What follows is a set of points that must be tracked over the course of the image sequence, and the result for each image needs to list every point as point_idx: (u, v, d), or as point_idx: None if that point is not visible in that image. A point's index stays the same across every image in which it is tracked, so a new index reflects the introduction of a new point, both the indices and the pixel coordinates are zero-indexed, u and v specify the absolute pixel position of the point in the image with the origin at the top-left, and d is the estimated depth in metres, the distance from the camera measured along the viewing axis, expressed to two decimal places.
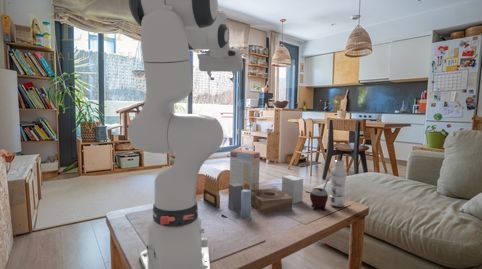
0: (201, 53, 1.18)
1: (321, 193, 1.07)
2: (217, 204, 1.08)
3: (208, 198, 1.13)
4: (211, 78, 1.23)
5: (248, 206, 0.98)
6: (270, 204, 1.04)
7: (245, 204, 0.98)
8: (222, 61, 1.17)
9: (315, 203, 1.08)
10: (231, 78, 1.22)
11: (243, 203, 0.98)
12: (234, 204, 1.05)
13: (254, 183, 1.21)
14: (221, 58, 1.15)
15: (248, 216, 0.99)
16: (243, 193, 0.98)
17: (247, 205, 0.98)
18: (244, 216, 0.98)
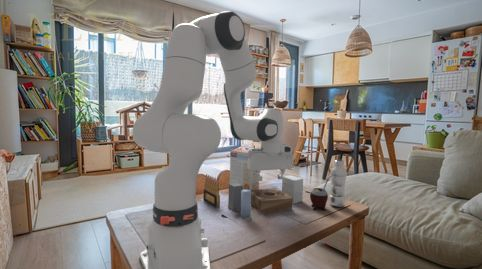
0: (253, 151, 1.07)
1: (321, 193, 1.07)
2: (217, 204, 1.08)
3: (208, 198, 1.13)
4: (260, 178, 1.09)
5: (248, 206, 0.98)
6: (270, 204, 1.04)
7: (245, 204, 0.98)
8: (275, 158, 1.09)
9: (315, 203, 1.08)
10: (280, 177, 1.12)
11: (243, 203, 0.98)
12: (234, 204, 1.05)
13: (254, 183, 1.21)
14: (276, 155, 1.08)
15: (248, 216, 0.99)
16: (243, 193, 0.98)
17: (247, 205, 0.98)
18: (244, 216, 0.98)
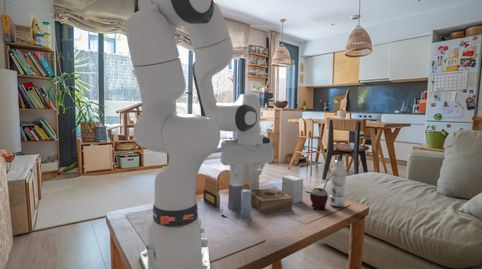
0: (226, 142, 0.94)
1: (321, 193, 1.07)
2: (217, 204, 1.08)
3: (208, 198, 1.13)
4: (235, 174, 0.96)
5: (248, 206, 0.98)
6: (270, 204, 1.04)
7: (245, 204, 0.98)
8: (252, 151, 0.97)
9: (315, 203, 1.08)
10: (259, 172, 0.99)
11: (243, 203, 0.98)
12: (234, 204, 1.05)
13: (254, 183, 1.21)
14: (253, 147, 0.95)
15: (248, 216, 0.99)
16: (243, 193, 0.98)
17: (247, 205, 0.98)
18: (244, 216, 0.98)
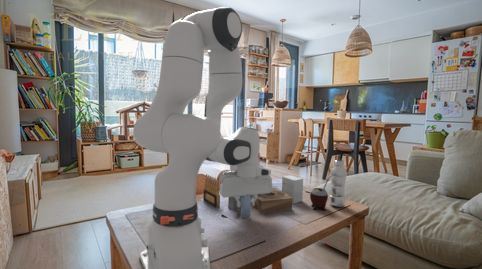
0: (225, 175, 0.95)
1: (321, 193, 1.07)
2: (217, 204, 1.08)
3: (208, 198, 1.13)
4: (240, 204, 0.98)
5: (248, 206, 0.98)
6: (270, 204, 1.04)
7: (245, 204, 0.98)
8: (251, 182, 0.98)
9: (315, 203, 1.08)
10: (252, 203, 0.99)
11: (243, 203, 0.98)
12: (234, 204, 1.05)
13: None
14: (252, 179, 0.96)
15: (248, 216, 0.99)
16: None
17: (247, 205, 0.98)
18: (244, 216, 0.98)
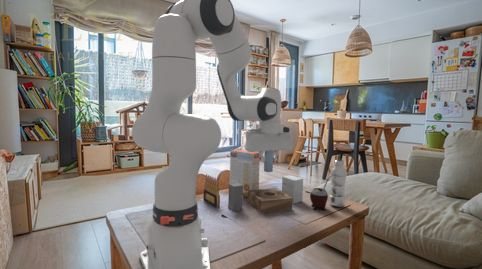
0: (251, 131, 1.04)
1: (321, 193, 1.07)
2: (217, 204, 1.08)
3: (208, 198, 1.13)
4: (263, 159, 1.07)
5: (271, 161, 1.08)
6: (270, 204, 1.04)
7: (268, 159, 1.07)
8: (273, 139, 1.07)
9: (315, 203, 1.08)
10: (274, 158, 1.09)
11: (266, 158, 1.08)
12: (234, 204, 1.05)
13: (254, 183, 1.21)
14: (275, 135, 1.06)
15: (271, 170, 1.08)
16: None
17: (270, 159, 1.07)
18: (267, 170, 1.08)
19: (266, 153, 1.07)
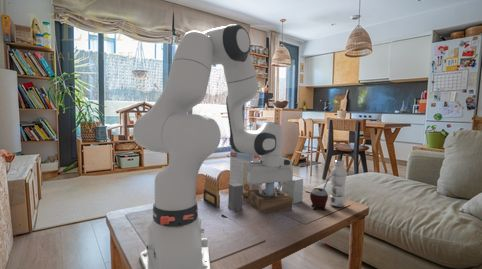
0: (252, 164, 1.07)
1: (321, 193, 1.07)
2: (217, 204, 1.08)
3: (208, 198, 1.13)
4: (262, 191, 1.09)
5: None
6: (270, 204, 1.04)
7: (269, 194, 1.10)
8: (274, 171, 1.10)
9: (315, 203, 1.08)
10: (278, 189, 1.12)
11: (267, 193, 1.10)
12: (234, 204, 1.05)
13: None
14: (276, 168, 1.08)
15: None
16: (267, 184, 1.10)
17: (270, 194, 1.10)
18: None
19: (267, 188, 1.10)
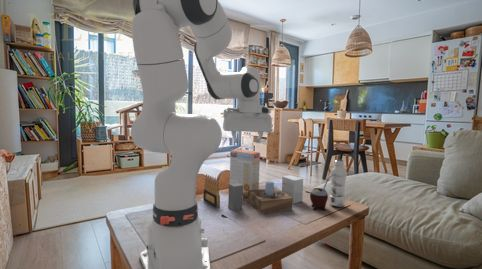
0: (229, 110, 1.03)
1: (321, 193, 1.07)
2: (217, 204, 1.08)
3: (208, 198, 1.13)
4: (236, 140, 1.04)
5: None
6: (270, 204, 1.04)
7: (269, 194, 1.10)
8: (252, 119, 1.05)
9: (315, 203, 1.08)
10: (258, 140, 1.08)
11: (267, 193, 1.10)
12: (234, 204, 1.05)
13: (254, 183, 1.21)
14: (253, 115, 1.04)
15: None
16: (267, 184, 1.10)
17: (270, 194, 1.10)
18: None
19: (267, 188, 1.10)
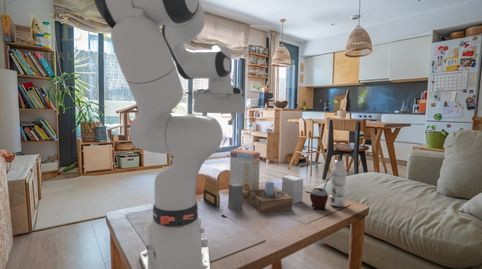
0: (198, 91, 0.99)
1: (321, 193, 1.07)
2: (217, 204, 1.08)
3: (208, 198, 1.13)
4: None
5: None
6: (270, 204, 1.04)
7: (269, 194, 1.10)
8: (223, 100, 1.02)
9: (315, 203, 1.08)
10: (231, 122, 1.05)
11: (267, 193, 1.10)
12: (234, 204, 1.05)
13: (254, 183, 1.21)
14: (224, 96, 1.01)
15: None
16: (267, 184, 1.10)
17: (270, 194, 1.10)
18: None
19: (267, 188, 1.10)
